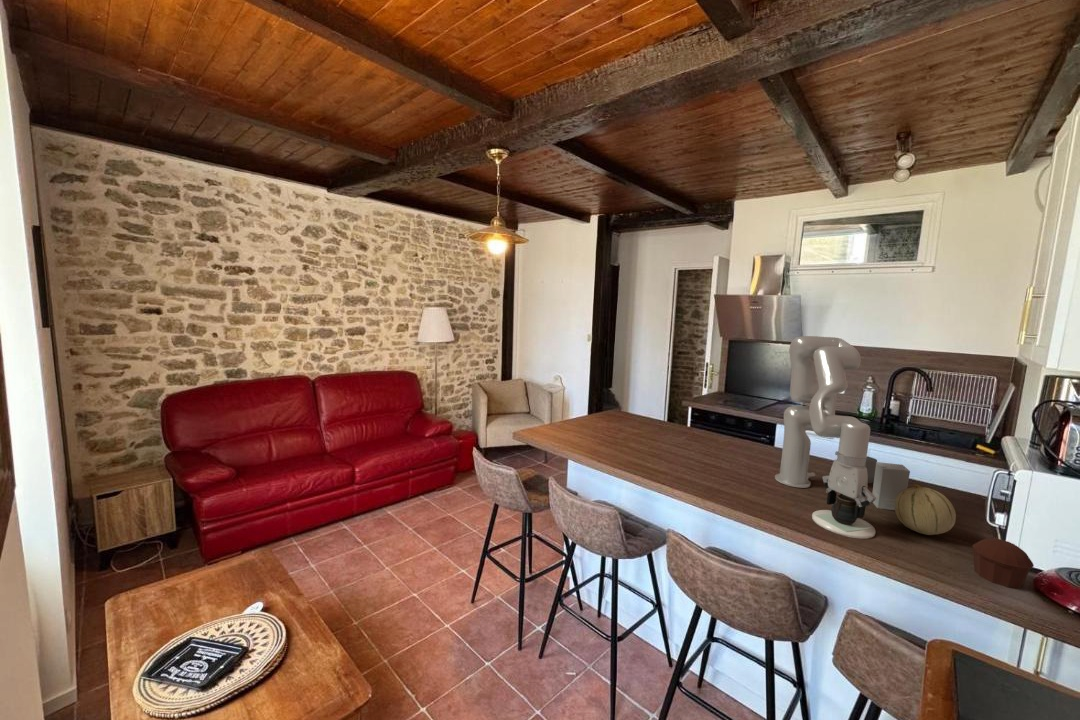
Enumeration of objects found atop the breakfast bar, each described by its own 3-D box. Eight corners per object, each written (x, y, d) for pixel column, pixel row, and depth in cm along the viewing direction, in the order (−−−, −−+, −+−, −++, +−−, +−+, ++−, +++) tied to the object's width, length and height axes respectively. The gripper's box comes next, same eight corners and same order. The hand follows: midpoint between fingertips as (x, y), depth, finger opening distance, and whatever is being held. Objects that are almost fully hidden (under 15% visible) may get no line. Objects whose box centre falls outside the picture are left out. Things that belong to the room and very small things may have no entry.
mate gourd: (844, 527, 138) (848, 497, 137) (823, 516, 145) (827, 488, 144) (862, 525, 140) (866, 496, 139) (840, 514, 147) (844, 486, 146)
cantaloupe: (957, 549, 130) (965, 501, 129) (895, 534, 138) (902, 489, 136) (944, 529, 143) (952, 485, 141) (888, 516, 151) (894, 474, 149)
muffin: (1032, 598, 109) (1039, 560, 107) (970, 578, 116) (976, 543, 115) (1024, 577, 117) (1031, 542, 116) (967, 560, 125) (973, 527, 123)
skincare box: (896, 505, 160) (902, 463, 158) (905, 513, 153) (912, 470, 151) (869, 501, 163) (875, 460, 161) (876, 509, 156) (883, 466, 154)
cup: (852, 483, 180) (855, 459, 179) (846, 475, 189) (849, 453, 187) (880, 487, 176) (883, 463, 175) (872, 479, 185) (875, 456, 184)
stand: (837, 510, 153) (838, 507, 153) (888, 535, 137) (889, 531, 137) (800, 515, 148) (800, 511, 148) (847, 541, 132) (848, 537, 132)
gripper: (818, 451, 147) (812, 500, 149) (869, 470, 131) (862, 524, 133) (835, 450, 149) (829, 498, 151) (887, 469, 133) (880, 522, 135)
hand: (844, 510), depth 142 cm, fingers open, 9 cm apart
